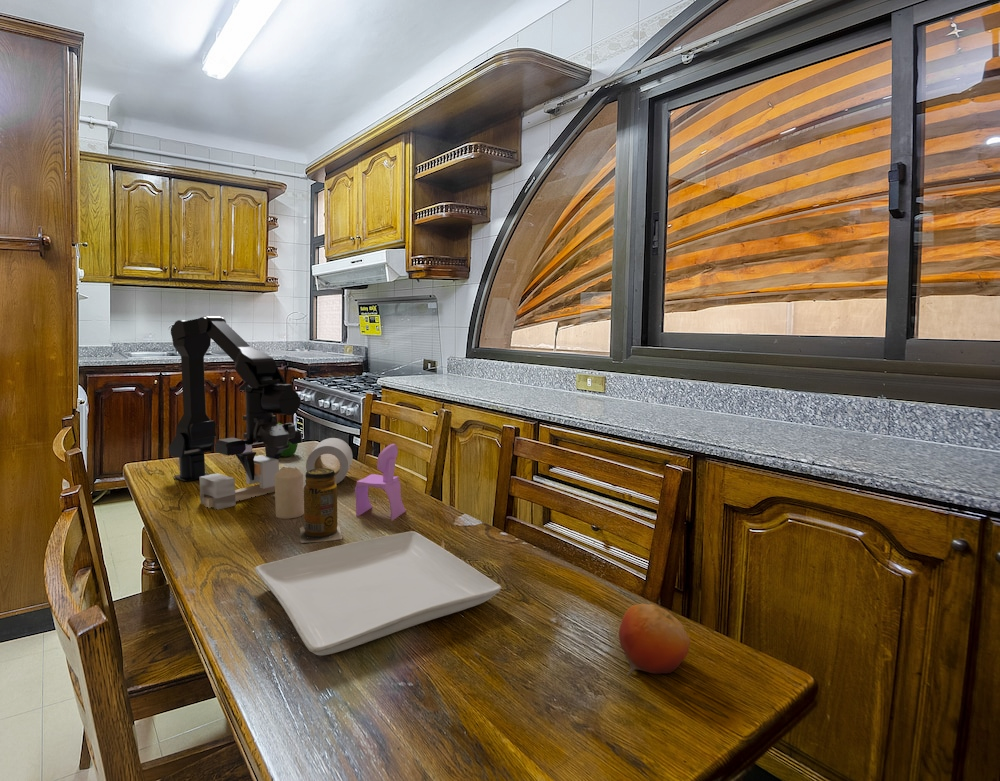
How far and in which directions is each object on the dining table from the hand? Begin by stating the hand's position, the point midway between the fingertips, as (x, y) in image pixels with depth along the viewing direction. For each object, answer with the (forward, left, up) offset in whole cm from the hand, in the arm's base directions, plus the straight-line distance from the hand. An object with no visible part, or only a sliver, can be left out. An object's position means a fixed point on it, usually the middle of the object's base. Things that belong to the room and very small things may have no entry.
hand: (261, 477), depth 133 cm
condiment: (+32, -8, -4) cm, 33 cm away
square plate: (+59, -19, -4) cm, 62 cm away
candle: (+18, -5, -4) cm, 19 cm away
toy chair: (+32, +7, -4) cm, 33 cm away
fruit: (+98, -11, -4) cm, 99 cm away
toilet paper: (+3, +17, -4) cm, 18 cm away
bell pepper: (-30, +26, -4) cm, 40 cm away
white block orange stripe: (0, 0, -2) cm, 2 cm away
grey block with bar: (0, -4, -4) cm, 5 cm away
